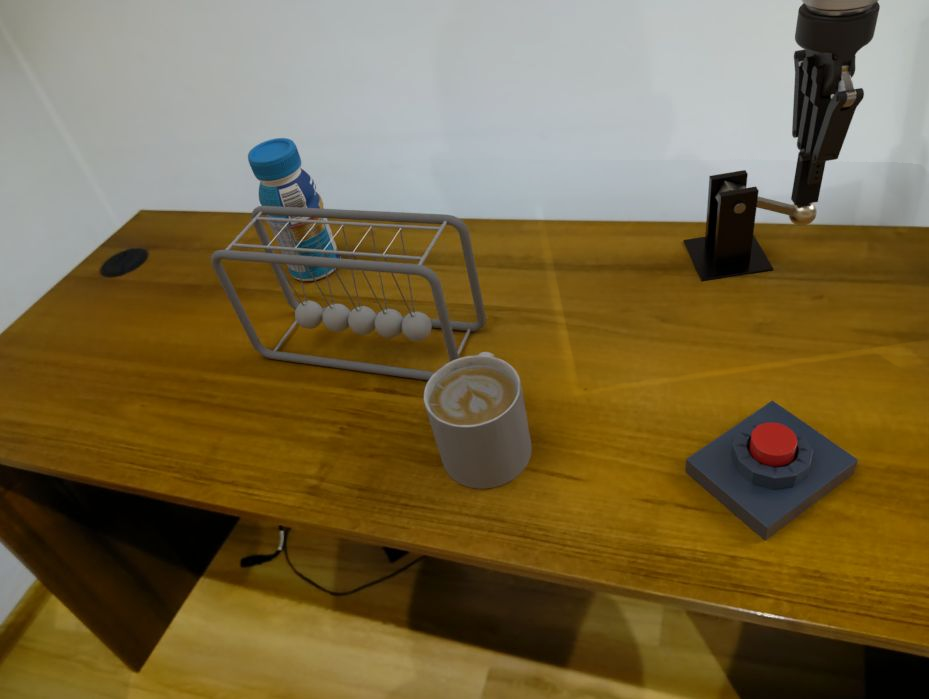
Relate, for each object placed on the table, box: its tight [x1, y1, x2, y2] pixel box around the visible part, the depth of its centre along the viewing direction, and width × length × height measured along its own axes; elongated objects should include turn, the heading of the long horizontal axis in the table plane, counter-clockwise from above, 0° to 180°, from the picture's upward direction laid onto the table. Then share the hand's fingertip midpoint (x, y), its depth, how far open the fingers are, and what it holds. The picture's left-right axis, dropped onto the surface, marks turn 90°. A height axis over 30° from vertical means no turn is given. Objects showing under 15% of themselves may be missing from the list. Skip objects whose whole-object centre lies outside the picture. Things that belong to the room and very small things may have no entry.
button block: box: [684, 400, 859, 542], centre depth 69 cm, size 12×10×4 cm
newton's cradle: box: [210, 205, 487, 382], centre depth 89 cm, size 30×10×18 cm, turn 71°
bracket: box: [683, 169, 774, 282], centre depth 91 cm, size 9×9×12 cm
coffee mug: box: [423, 351, 533, 490], centre depth 76 cm, size 13×10×10 cm
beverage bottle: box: [247, 137, 342, 282], centre depth 104 cm, size 8×8×20 cm
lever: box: [715, 181, 818, 227], centre depth 89 cm, size 13×3×3 cm, turn 92°
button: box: [750, 423, 797, 467], centre depth 68 cm, size 4×4×2 cm
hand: (804, 200), depth 89 cm, fingers closed
